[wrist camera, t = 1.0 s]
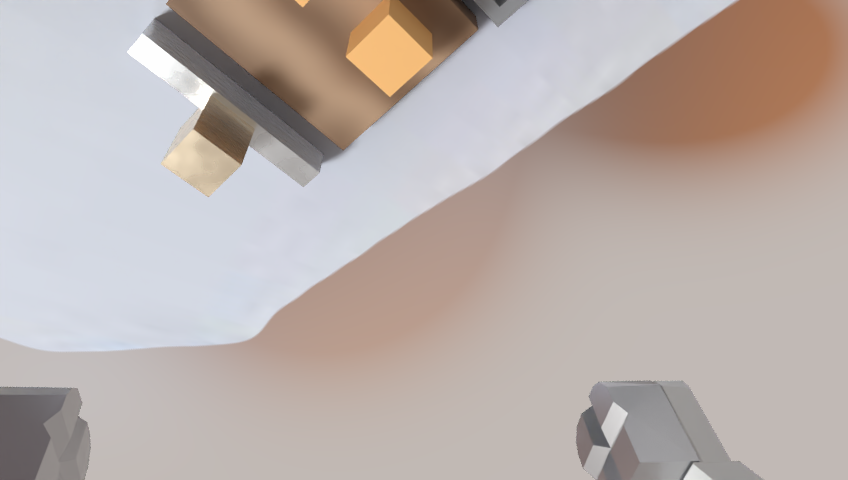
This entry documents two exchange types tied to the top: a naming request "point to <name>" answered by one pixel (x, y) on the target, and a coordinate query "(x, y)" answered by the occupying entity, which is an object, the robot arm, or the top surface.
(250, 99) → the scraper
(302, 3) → the orange cube
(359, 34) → the orange cube
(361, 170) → the top surface
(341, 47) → the chopping board
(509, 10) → the tray
